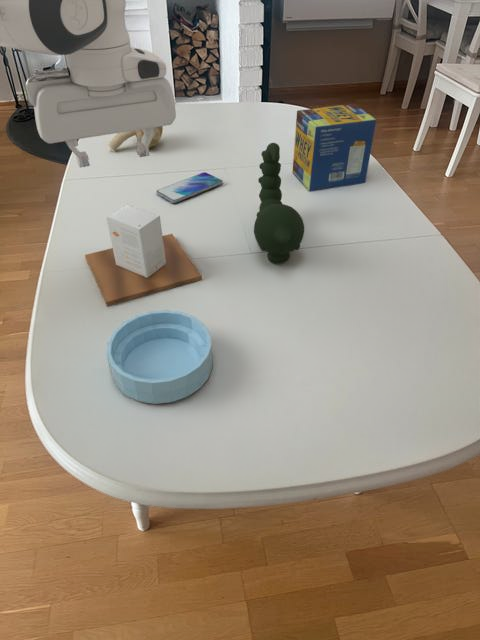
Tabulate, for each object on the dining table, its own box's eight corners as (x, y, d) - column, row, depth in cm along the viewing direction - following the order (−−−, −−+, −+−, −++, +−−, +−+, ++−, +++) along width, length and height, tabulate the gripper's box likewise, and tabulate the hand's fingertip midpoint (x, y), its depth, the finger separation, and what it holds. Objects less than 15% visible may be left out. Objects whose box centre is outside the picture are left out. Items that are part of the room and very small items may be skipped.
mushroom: (99, 133, 140) (140, 94, 139) (127, 162, 147) (166, 125, 145) (103, 142, 132) (146, 101, 130) (132, 172, 138) (174, 133, 136)
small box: (166, 264, 98) (161, 215, 92) (147, 279, 95) (140, 229, 88) (135, 251, 102) (127, 203, 95) (115, 265, 98) (105, 216, 91)
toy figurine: (247, 222, 115) (257, 282, 95) (247, 135, 104) (259, 182, 84) (289, 220, 116) (308, 280, 96) (293, 134, 104) (316, 180, 84)
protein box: (291, 173, 130) (295, 110, 119) (347, 164, 133) (356, 102, 123) (308, 192, 122) (314, 126, 112) (366, 182, 126) (378, 118, 116)
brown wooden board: (106, 306, 91) (105, 302, 90) (85, 259, 102) (84, 254, 101) (202, 279, 97) (201, 275, 96) (172, 237, 107) (172, 233, 107)
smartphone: (154, 190, 121) (204, 171, 128) (155, 194, 121) (205, 174, 129) (173, 201, 117) (223, 180, 124) (173, 204, 117) (223, 184, 125)
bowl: (129, 420, 72) (123, 396, 69) (101, 350, 83) (95, 327, 79) (228, 384, 77) (227, 361, 74) (190, 323, 88) (188, 300, 84)
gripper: (25, 79, 66) (49, 180, 75) (176, 62, 73) (182, 157, 82) (18, 66, 70) (41, 163, 79) (161, 52, 77) (168, 142, 87)
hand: (114, 160), depth 81 cm, fingers open, 8 cm apart
